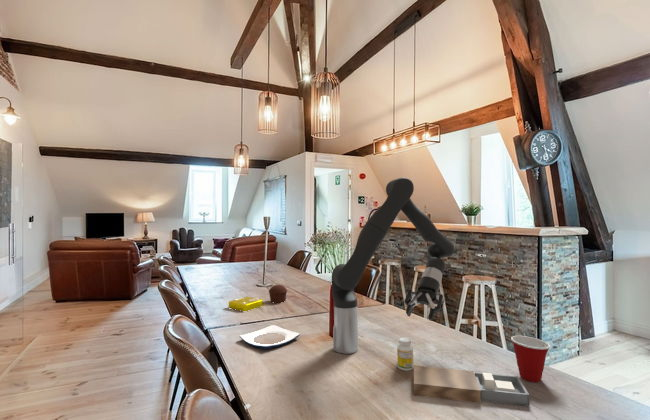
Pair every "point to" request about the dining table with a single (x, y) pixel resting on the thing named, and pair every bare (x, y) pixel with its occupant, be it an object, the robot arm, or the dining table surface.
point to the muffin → (277, 293)
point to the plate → (271, 329)
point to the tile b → (504, 386)
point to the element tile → (245, 303)
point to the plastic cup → (530, 357)
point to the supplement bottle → (405, 354)
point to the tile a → (488, 381)
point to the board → (446, 384)
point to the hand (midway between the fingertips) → (418, 317)
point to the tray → (503, 396)
